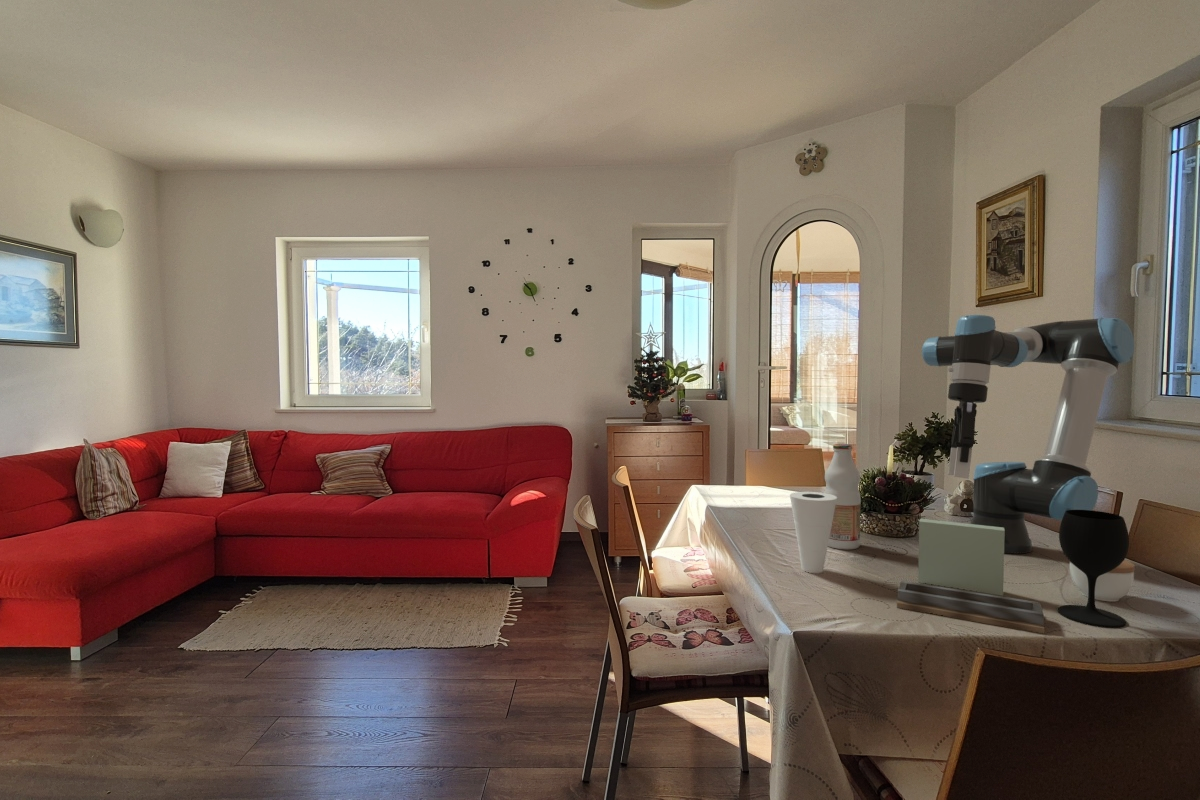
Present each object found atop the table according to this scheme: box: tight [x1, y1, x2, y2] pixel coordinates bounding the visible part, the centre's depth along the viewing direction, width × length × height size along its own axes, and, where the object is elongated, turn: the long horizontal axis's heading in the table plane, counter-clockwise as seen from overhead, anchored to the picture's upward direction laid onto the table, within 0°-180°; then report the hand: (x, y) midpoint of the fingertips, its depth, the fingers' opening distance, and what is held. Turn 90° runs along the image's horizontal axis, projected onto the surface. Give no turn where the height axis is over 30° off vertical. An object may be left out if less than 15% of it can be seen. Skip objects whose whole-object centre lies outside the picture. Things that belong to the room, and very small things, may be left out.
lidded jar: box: [1069, 559, 1136, 603], centre depth 127 cm, size 11×11×9 cm
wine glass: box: [1057, 510, 1130, 629], centre depth 116 cm, size 10×10×20 cm
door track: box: [896, 580, 1045, 635], centre depth 119 cm, size 24×10×3 cm, turn 58°
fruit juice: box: [823, 443, 862, 550], centre depth 166 cm, size 9×9×28 cm
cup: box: [789, 491, 837, 574], centre depth 145 cm, size 11×11×18 cm
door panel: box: [917, 518, 1005, 597], centre depth 133 cm, size 16×3×14 cm, turn 58°
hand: (957, 476), depth 136 cm, fingers open, 13 cm apart
